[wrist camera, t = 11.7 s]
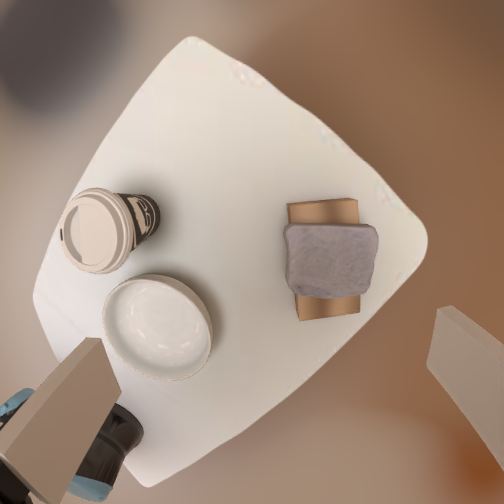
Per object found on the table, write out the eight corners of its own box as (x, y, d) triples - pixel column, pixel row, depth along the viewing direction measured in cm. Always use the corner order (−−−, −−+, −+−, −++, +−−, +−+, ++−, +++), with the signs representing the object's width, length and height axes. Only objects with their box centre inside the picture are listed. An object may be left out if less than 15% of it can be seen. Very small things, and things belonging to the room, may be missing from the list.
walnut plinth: (296, 309, 43) (299, 321, 39) (286, 203, 39) (289, 205, 35) (352, 301, 42) (359, 312, 39) (348, 198, 39) (357, 200, 35)
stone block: (362, 282, 39) (372, 217, 35) (372, 301, 35) (385, 230, 31) (282, 284, 40) (283, 216, 36) (283, 304, 36) (284, 229, 31)
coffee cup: (125, 175, 39) (65, 176, 24) (179, 198, 39) (136, 209, 25) (106, 232, 41) (47, 257, 26) (157, 257, 42) (111, 294, 27)
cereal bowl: (237, 299, 43) (233, 321, 36) (192, 371, 47) (183, 397, 40) (141, 244, 41) (120, 256, 34) (109, 324, 45) (91, 343, 38)
